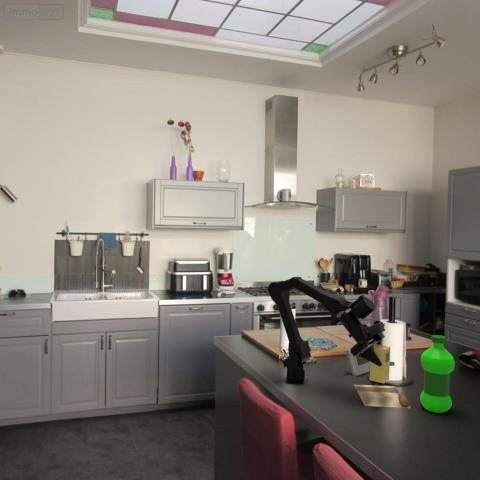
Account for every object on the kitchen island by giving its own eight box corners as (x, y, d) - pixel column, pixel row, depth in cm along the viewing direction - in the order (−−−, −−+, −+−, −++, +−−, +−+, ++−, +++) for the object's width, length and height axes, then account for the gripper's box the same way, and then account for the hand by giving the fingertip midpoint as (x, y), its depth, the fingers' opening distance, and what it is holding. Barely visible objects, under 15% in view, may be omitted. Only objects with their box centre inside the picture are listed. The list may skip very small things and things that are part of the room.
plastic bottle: (449, 420, 156) (453, 342, 155) (415, 412, 162) (418, 337, 161) (455, 410, 165) (458, 336, 163) (422, 403, 170) (425, 331, 169)
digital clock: (354, 378, 196) (355, 351, 195) (338, 371, 203) (339, 346, 203) (382, 372, 204) (383, 346, 204) (366, 366, 212) (367, 341, 211)
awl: (402, 407, 164) (402, 399, 164) (394, 396, 174) (394, 389, 174) (409, 407, 164) (409, 400, 164) (401, 396, 174) (401, 389, 174)
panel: (364, 408, 164) (364, 405, 164) (353, 386, 185) (353, 384, 185) (410, 410, 164) (410, 408, 164) (394, 388, 185) (394, 386, 185)
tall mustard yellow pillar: (369, 380, 170) (371, 347, 169) (374, 376, 174) (376, 344, 173) (384, 383, 167) (385, 349, 166) (389, 379, 171) (390, 346, 170)
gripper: (360, 317, 164) (392, 356, 158) (380, 309, 179) (409, 345, 173) (337, 337, 169) (367, 375, 163) (358, 327, 184) (386, 363, 178)
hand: (383, 364), depth 169 cm, fingers closed on tall mustard yellow pillar, 5 cm apart
